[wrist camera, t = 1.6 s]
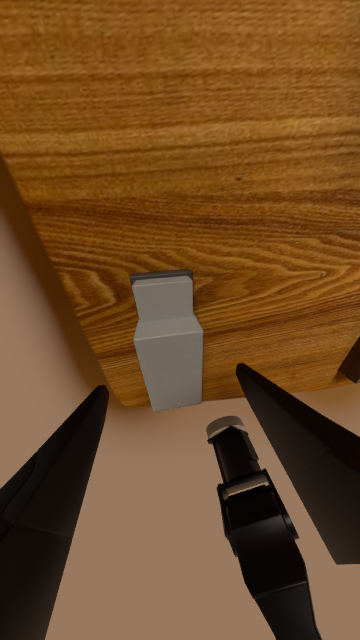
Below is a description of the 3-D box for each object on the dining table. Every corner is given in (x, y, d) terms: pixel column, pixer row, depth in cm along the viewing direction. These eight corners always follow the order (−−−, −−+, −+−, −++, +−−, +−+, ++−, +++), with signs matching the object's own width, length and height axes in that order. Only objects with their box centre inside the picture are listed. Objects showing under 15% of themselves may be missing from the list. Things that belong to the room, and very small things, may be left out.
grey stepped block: (191, 367, 17) (203, 409, 13) (154, 373, 17) (152, 419, 12) (189, 268, 12) (208, 282, 7) (132, 273, 11) (114, 291, 7)
